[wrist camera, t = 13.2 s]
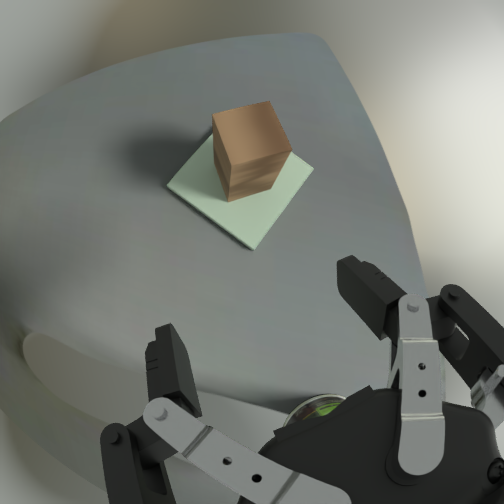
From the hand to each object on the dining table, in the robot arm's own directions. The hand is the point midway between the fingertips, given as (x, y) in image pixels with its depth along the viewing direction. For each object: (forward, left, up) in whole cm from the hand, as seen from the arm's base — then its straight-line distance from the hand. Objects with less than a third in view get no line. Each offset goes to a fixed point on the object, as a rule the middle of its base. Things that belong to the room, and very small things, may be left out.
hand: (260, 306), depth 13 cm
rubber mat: (-7, +11, -18) cm, 22 cm away
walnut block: (-7, +11, -17) cm, 21 cm away
